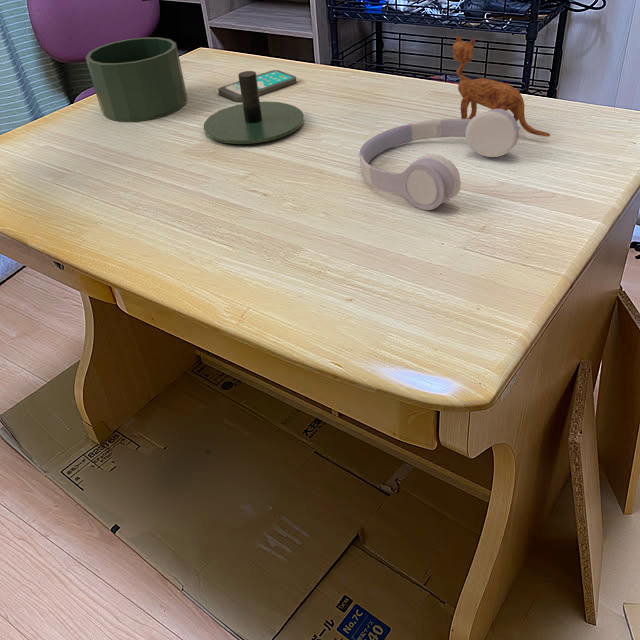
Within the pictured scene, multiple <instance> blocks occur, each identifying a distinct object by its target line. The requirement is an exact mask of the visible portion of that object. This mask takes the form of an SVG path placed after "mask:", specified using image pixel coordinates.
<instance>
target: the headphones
mask: <svg viewBox="0 0 640 640" xmlns="http://www.w3.org/2000/svg"><path fill="white" fill-rule="evenodd" d="M513 116H514V115H513V114H512V113H511V112H510V111H508V110H507V111H506V110H503V109H489V110H488V111H484V112H481V113H478V114H476V116H475V117H473V118H472V119H461V118H444V119H430V120H424V121H418V122H413V123H407V124H403V125H399V126H396V127H392V128H390V129H387V130H385V131H382V132H380V133H377V134H376V135H374V136H372V137H370V138H369V139H368V140H367V141H365V142H364V144H362V146H361V147H360V149H359V154H358V156H359V164H360V170H361V175H362V177H363V179H364V180H365V181H366V182H367V183H368V184H369V185H370V186H373V187H375V188H376V189H379V190H382V191H385V192H389V193H394V194H396V195H400V196H401V197H403V198H405V199H406V200H407V201H408V202H409V203H410V204H411V205H412V206H414V207H415V208H417V209H420V210H422V211H432V210H434V209H437V208H438V207H439V206H441V205H443V204H445V203H446V202H448V201H449V200H450V199H453V198H454V197H456V196H457V195H458V194H459V193H460V191H461V190H462V189H461V188H462V187H461V185H462V181H461V175H460V172H459V169H458V168H457V166H456V165H455V164H454V163H453V162H452V161H451V160H450V159H448V158H447V157H444V156H442V155H439V154H435V153H427V154H424V155H421V156H419V157H418V158H416V160H414V161H413V162H411V163H410V164H409V165H408V167H406V168H405V170H403V171H401V172H389V171H386V170H381V169H379V168H376V167H374V166H372V165H370V164H369V163H370V161H372V159H374V158H375V157H376V156H378V155H380V154H381V153H383V152H384V151H386V150H388V149H390V148H393V147H396V146H400V145H405V144H408V143H409V144H410V143H412V142H416V141H422V140H429V139H438V138H440V139H441V138H465V142H466V145H468V147H469V148H470V149H471V150H472V151H473V152H475V153H476V154H478V155H480V156H482V157H487V158H498V157H502V156H504V155H506V154H508V153H509V152H510V151H511V150H512V149H513V148H514V147H515V146H516V144H517V142H518V140H519V135H520V130H519V124H518V121H517V122H516V120H515V118H514V117H513Z"/></svg>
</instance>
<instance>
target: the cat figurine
mask: <svg viewBox="0 0 640 640" xmlns="http://www.w3.org/2000/svg"><path fill="white" fill-rule="evenodd" d="M475 43H476V37H472V38H471V39H470V40H469V41H463V40H462V38H461V36H459V34H457V35H456V36H455V42H454V43H452V53H453V54H452V55H453V60H454V61H456V62H459V63H460V65H459V66H458V67H457V69H456V71H455V72H456V75H457V76H458V78H459V81H458V83H457V84H458V85H457V90H458V92H459V94H460V95H461V98H462V99H461V101H460V107H459V108H460V117H461V118H460V119H472V118H473V117H475V116H476V115H477V113H478V112H477V111H478V110H477V109H478V105H480V106H483V107H485V108H488V109H489V110H492V109H503V110H506V111H507V112H508V111H509V112H510V113H511V114H512V116H513V117H514V118H515V120H516V122H517V123H518V121H519V124H520V126H521V127H522V128H523V130H525V131H526V132H527V133H530V134H532V135H535V136H539V137H546V138H548V137H551V134H550V133H549V132H547V131H542V130H538V129H536V128H534V127H532V126H531V125H530V124H528V123H527V120H526V116H525V107H526V105H525V100H524V97H523V96H522V94H521V92H520V91H519V89H517V88H515V87H513V86H512V85H510V84H507V83H503V82H501V81H497V80H495V79H491V78H485V77H481V78H477V79H471V78H469V77H467V76H465V75H464V74H463V71H464V69H465V67H466V64H467V63H470V62H472V61H473V56H474V50H475V49H474V47H475ZM469 106H470V107H471V112H470V114H469V115H468V109H469Z"/></svg>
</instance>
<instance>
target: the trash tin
mask: <svg viewBox="0 0 640 640" xmlns="http://www.w3.org/2000/svg"><path fill="white" fill-rule="evenodd" d="M85 61H86V64H87V68H88V71H89V75H90V78H91V82H92V85H93V88H94V90H95V94H96V98H97V101H98V102H97V103H98V105H99V108H100V111H101V112H102V115H103V116H104V117H105V118H106V119H108V120H110V121H115V122H121V123H133V122H134V123H135V122H137V123H138V122H146V121H150V120H151V121H152V120H156V119H160V118H163V117H166V116H169V115H172V114H173V113H176V112H178V111H179V110H181V109H182V108H184V107H185V106H186V104H187V102H188V94H187V88H186V83H185V78H184V75H183V74H184V73H183V70H182V65H181V59H180V55H179V50H178V45H177V42H175V41H173V40H172V39H170V38H164V37H136V38H128V39H124V40H119V41H113V42H110V43H106V44H104V45H103V44H102V45H101V46H97V47H96V48H94V49H92V50H90V51H89V52H88V53H87V54H86V56H85Z"/></svg>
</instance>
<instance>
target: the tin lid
mask: <svg viewBox="0 0 640 640" xmlns="http://www.w3.org/2000/svg"><path fill="white" fill-rule="evenodd" d="M256 75H257V72H256V71H255V70H254V71H252V70H245V71H241V72H239V73H238V81H239V83H240V89H241V96H242V101H241V103H240V104H236V105H232V106H229V107H225V108H223V109H221V110H218V111H216V112H214V113H213V114H211V115H210V116H209V117H207V119H205V121H204V123H203V132H204V134H205V135H206V136H207V137H208V138H210V139H212V140H214V141H217V142H221V143H226V144H235V145H250V144H259V143H266V142H270V141H274V140H278V139H281V138H284V137H286V136H288V135H291V134H292V133H294V132H295V131H297V130H298V129H300V128H301V127H302V125H303V123H304V122H305V121H304V120H305V116H304V112H303V111H302V110H301V109H300V108H299V107H297V106H295V105H293V104H290V103H285V102H280V101H261V100H260V95H259V92H258V85H257V77H256Z"/></svg>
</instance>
